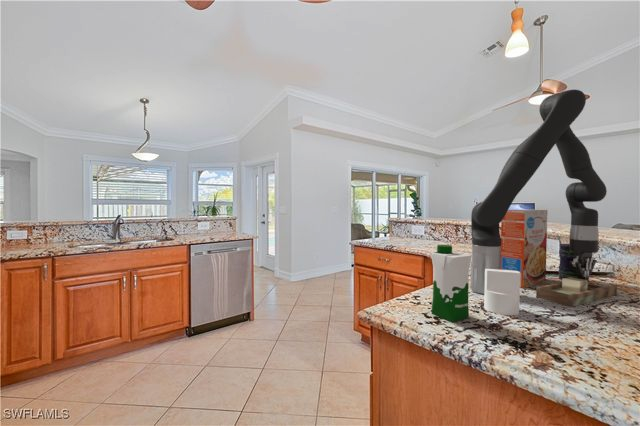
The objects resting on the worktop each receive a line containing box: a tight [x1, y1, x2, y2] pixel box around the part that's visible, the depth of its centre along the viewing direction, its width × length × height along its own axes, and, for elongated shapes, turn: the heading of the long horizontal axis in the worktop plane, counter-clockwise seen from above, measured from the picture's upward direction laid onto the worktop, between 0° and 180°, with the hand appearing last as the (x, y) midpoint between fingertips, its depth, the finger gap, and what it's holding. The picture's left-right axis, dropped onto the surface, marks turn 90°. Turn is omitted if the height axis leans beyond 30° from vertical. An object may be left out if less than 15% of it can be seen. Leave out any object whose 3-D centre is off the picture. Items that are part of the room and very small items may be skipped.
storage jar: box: [558, 243, 591, 283], centre depth 120 cm, size 10×10×15 cm
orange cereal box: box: [500, 209, 548, 290], centre depth 118 cm, size 23×8×30 cm, turn 124°
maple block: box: [561, 277, 589, 293], centre depth 99 cm, size 5×5×4 cm
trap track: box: [535, 281, 618, 308], centre depth 99 cm, size 30×10×4 cm, turn 114°
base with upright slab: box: [483, 269, 521, 316], centre depth 86 cm, size 9×9×12 cm
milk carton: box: [430, 244, 472, 323], centre depth 81 cm, size 9×9×20 cm
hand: (582, 286), depth 101 cm, fingers closed
